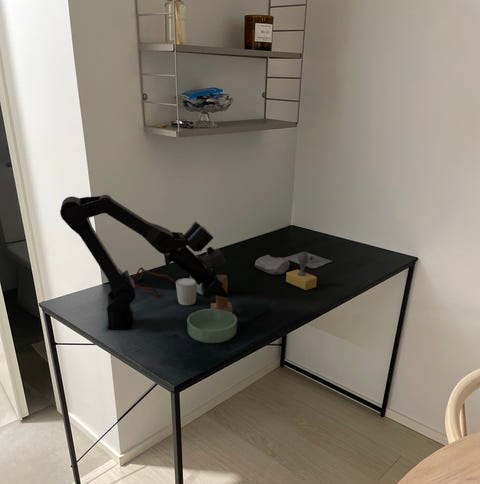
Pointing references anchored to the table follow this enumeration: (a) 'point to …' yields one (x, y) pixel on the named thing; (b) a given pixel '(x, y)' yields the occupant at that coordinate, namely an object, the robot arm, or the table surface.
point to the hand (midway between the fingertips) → (226, 294)
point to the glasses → (150, 273)
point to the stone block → (272, 264)
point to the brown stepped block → (222, 301)
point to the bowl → (212, 325)
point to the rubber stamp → (301, 275)
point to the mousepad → (310, 260)
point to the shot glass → (186, 291)
